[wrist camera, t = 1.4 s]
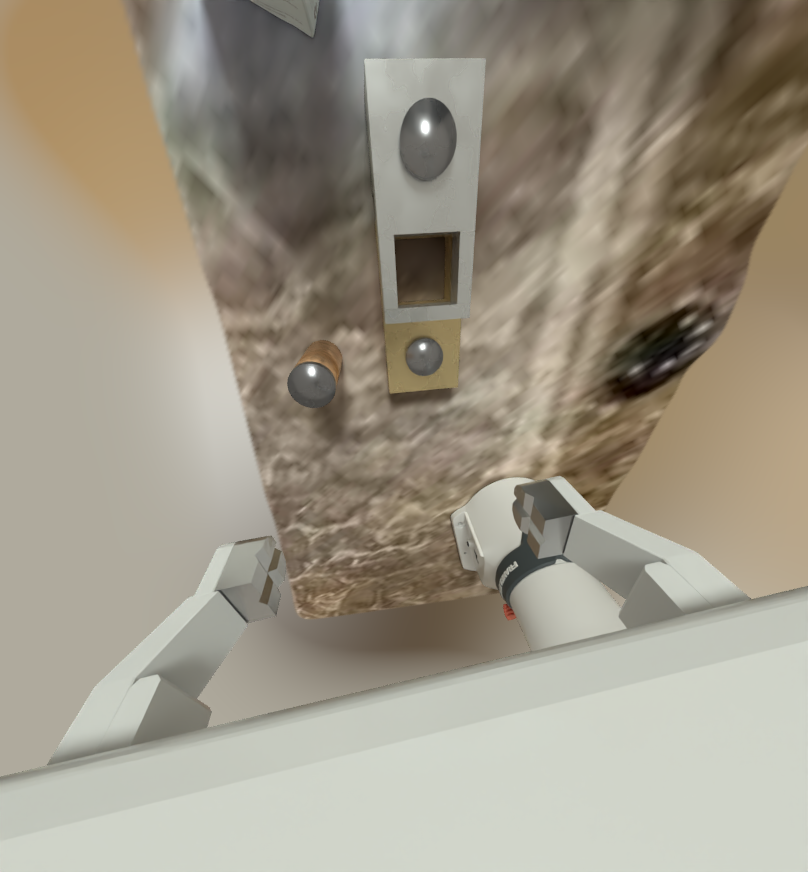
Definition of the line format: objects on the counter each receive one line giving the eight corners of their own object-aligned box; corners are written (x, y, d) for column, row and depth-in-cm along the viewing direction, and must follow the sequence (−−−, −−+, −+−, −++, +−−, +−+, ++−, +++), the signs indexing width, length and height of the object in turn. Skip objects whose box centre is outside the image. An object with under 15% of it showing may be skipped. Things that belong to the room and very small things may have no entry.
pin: (344, 373, 33) (339, 405, 26) (310, 376, 33) (294, 409, 25) (339, 338, 31) (330, 362, 24) (302, 341, 31) (281, 366, 23)
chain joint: (452, 380, 35) (466, 398, 30) (388, 386, 35) (392, 406, 30) (462, 97, 23) (490, 50, 18) (364, 99, 22) (364, 50, 17)
